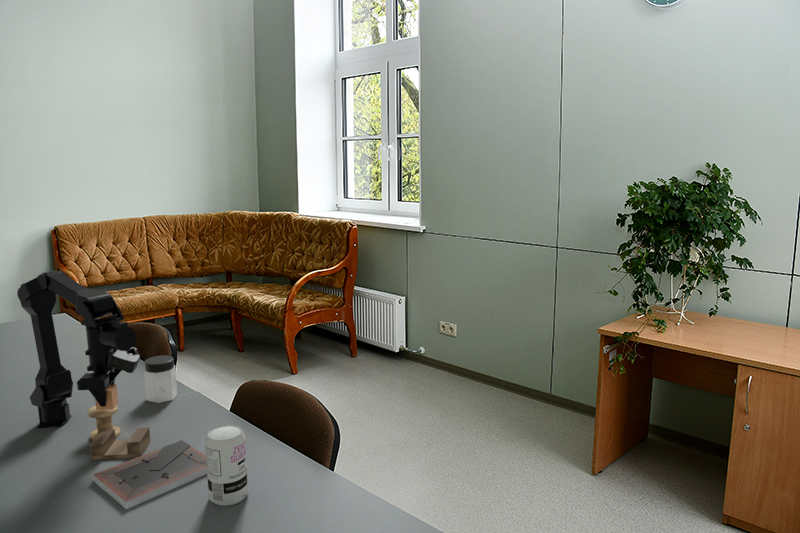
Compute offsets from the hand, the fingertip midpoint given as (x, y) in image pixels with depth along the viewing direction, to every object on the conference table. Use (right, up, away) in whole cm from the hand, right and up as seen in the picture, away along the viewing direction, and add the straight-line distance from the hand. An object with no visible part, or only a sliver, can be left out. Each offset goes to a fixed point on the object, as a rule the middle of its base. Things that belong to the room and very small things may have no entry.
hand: (106, 402), depth 153 cm
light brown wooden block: (0, -1, 0) cm, 1 cm away
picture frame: (+18, -14, -13) cm, 27 cm away
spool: (-3, -10, +6) cm, 12 cm away
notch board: (+5, -11, -2) cm, 13 cm away
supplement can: (+37, -15, -22) cm, 46 cm away
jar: (+2, -5, +30) cm, 31 cm away
